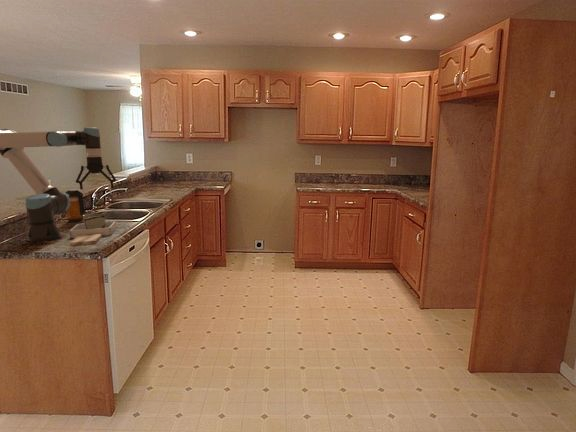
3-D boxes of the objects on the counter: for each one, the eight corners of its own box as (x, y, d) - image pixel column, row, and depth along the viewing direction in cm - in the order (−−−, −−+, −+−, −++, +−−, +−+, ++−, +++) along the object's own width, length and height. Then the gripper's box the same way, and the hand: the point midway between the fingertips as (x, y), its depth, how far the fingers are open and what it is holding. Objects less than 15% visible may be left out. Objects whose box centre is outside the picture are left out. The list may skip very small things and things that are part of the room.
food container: (102, 229, 233) (100, 212, 231) (107, 231, 229) (105, 214, 227) (80, 234, 224) (78, 216, 222) (85, 236, 220) (83, 218, 218)
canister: (73, 219, 263) (69, 189, 259) (89, 219, 262) (85, 188, 258) (65, 222, 254) (60, 191, 250) (81, 222, 253) (77, 191, 249)
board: (70, 245, 202) (69, 242, 201) (78, 237, 216) (77, 235, 216) (96, 243, 204) (95, 240, 204) (102, 236, 219) (101, 233, 218)
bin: (70, 238, 216) (69, 230, 215) (78, 230, 232) (77, 224, 231) (111, 234, 221) (110, 227, 220) (116, 227, 237) (115, 221, 236)
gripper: (67, 157, 212) (71, 197, 216) (118, 156, 222) (122, 194, 226) (68, 156, 218) (72, 194, 223) (118, 155, 228) (121, 192, 233)
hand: (97, 194), depth 225 cm, fingers open, 13 cm apart
